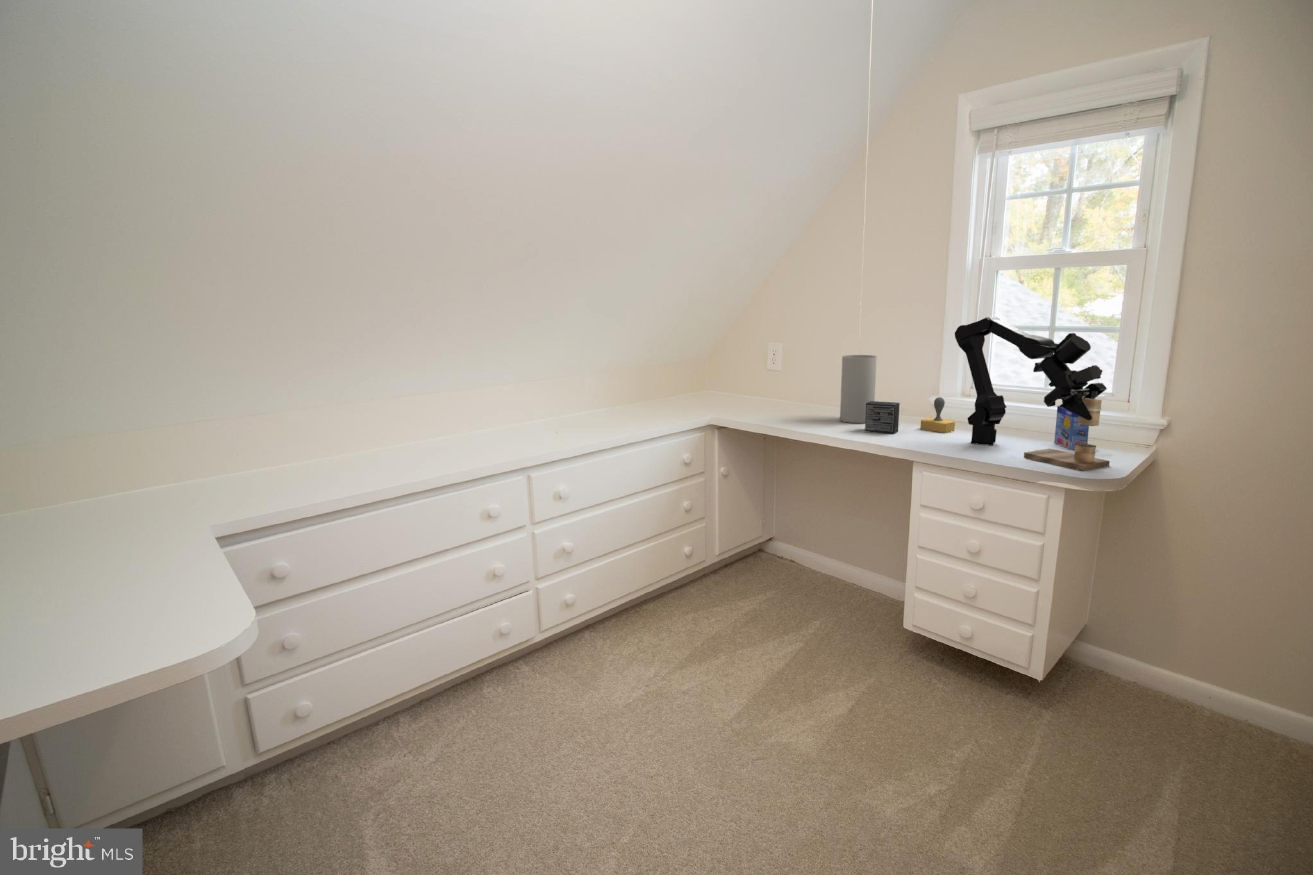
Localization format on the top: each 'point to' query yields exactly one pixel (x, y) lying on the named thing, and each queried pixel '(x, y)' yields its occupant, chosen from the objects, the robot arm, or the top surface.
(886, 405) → the small box
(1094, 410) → the stub
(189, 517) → the top surface
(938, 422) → the rubber stamp
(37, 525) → the top surface
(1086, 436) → the ink cartridge box
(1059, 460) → the stand
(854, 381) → the cylinder vase
